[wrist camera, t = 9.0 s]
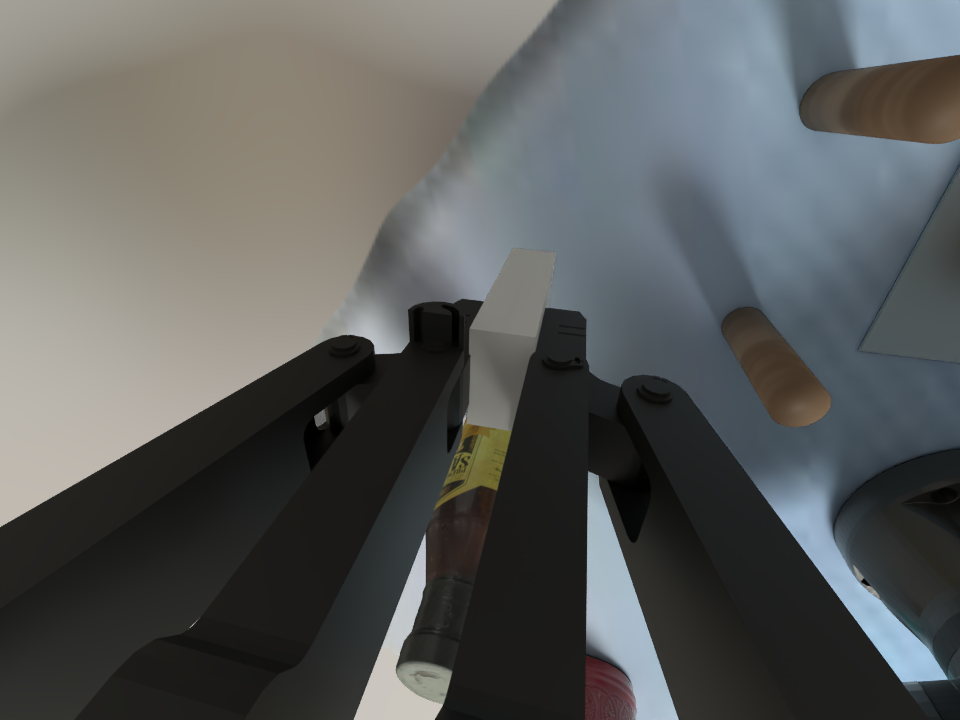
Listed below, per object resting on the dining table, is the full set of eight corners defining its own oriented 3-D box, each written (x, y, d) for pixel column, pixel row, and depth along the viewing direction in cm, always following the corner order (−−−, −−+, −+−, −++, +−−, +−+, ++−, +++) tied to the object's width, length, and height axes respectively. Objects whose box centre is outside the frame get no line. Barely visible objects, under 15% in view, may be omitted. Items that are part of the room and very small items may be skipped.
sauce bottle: (480, 374, 35) (378, 622, 18) (554, 399, 35) (521, 675, 18) (463, 433, 38) (364, 687, 22) (530, 456, 38) (484, 733, 21)
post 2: (871, 72, 21) (1027, 53, 14) (846, 132, 23) (976, 145, 15) (812, 70, 22) (931, 52, 14) (791, 129, 23) (890, 142, 15)
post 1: (772, 309, 28) (841, 387, 20) (757, 345, 29) (817, 431, 21) (728, 304, 28) (780, 378, 20) (716, 340, 29) (759, 422, 22)
